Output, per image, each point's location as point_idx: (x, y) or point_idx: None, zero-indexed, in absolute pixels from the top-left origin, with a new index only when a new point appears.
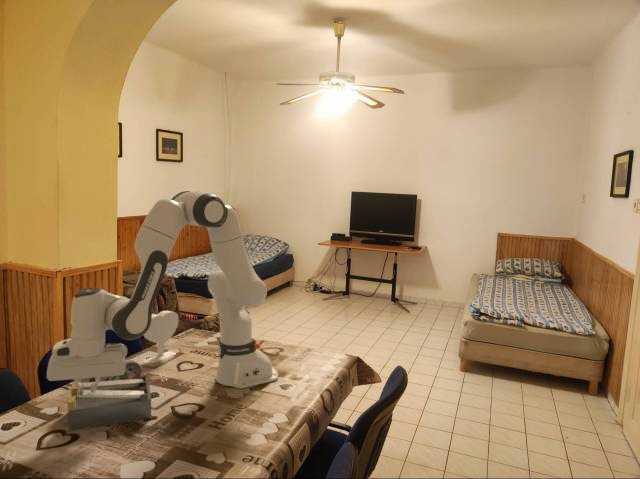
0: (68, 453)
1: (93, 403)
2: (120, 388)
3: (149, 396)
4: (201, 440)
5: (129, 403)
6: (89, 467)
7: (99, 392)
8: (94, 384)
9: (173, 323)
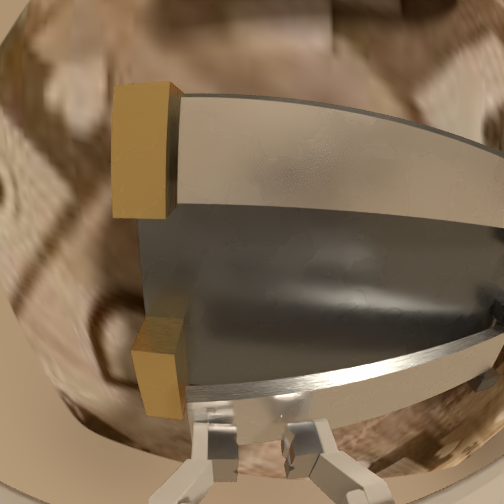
0: None
1: (287, 349)
2: None
3: None
4: (465, 415)
5: None
6: (252, 466)
7: (337, 409)
8: (318, 479)
9: None
